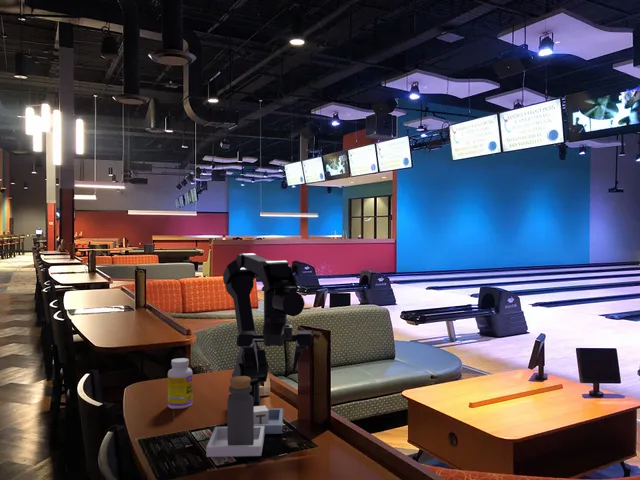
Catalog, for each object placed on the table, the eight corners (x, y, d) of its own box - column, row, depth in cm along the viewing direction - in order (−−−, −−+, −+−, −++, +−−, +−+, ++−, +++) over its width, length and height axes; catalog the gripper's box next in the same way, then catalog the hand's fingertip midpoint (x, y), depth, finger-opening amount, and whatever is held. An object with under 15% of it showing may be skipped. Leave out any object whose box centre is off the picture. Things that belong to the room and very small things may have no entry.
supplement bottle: (188, 410, 141) (188, 363, 141) (164, 410, 141) (164, 363, 141) (195, 402, 148) (195, 357, 148) (172, 402, 148) (171, 357, 148)
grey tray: (215, 437, 123) (215, 426, 123) (264, 436, 123) (264, 426, 123) (206, 459, 111) (206, 447, 111) (261, 458, 112) (260, 446, 112)
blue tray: (238, 418, 135) (238, 409, 135) (283, 417, 136) (283, 408, 136) (232, 436, 124) (232, 425, 124) (281, 435, 124) (281, 425, 124)
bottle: (254, 448, 115) (254, 381, 115) (228, 451, 114) (227, 383, 114) (252, 438, 121) (252, 374, 121) (226, 440, 120) (226, 375, 119)
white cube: (249, 422, 131) (249, 406, 131) (265, 421, 132) (265, 405, 132) (252, 428, 127) (252, 412, 127) (268, 426, 128) (268, 410, 128)
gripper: (233, 316, 123) (234, 382, 123) (313, 315, 123) (313, 381, 124) (239, 308, 134) (239, 369, 134) (312, 308, 135) (312, 368, 135)
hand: (275, 372), depth 131 cm, fingers open, 9 cm apart
